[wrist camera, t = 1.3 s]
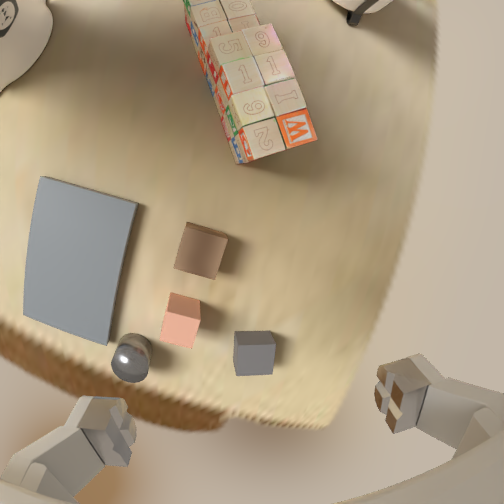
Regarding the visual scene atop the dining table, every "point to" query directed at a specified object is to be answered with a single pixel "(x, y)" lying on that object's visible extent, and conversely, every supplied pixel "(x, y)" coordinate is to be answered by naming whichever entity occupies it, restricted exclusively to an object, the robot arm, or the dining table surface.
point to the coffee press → (360, 8)
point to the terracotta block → (181, 321)
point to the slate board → (76, 258)
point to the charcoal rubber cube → (253, 353)
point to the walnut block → (200, 251)
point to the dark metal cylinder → (132, 358)
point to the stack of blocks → (248, 79)
